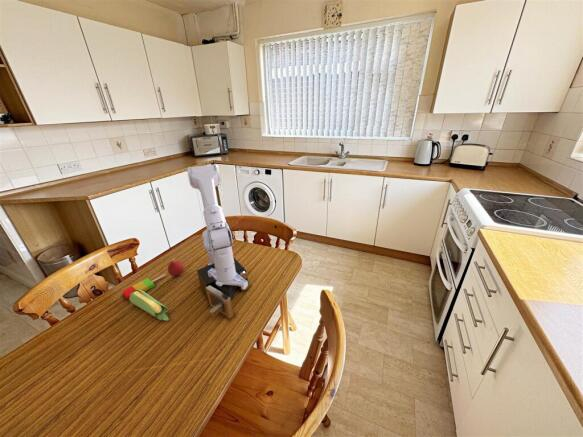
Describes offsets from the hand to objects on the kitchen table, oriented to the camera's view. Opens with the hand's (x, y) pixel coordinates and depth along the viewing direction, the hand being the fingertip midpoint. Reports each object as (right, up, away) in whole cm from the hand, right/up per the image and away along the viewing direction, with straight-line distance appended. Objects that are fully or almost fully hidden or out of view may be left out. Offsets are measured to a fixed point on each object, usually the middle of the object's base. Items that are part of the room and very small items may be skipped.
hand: (231, 298), depth 78 cm
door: (-5, -5, 0) cm, 7 cm away
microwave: (-5, 0, +11) cm, 12 cm away
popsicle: (-36, 0, +13) cm, 38 cm away
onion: (-26, +3, +19) cm, 32 cm away
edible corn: (-28, -5, +3) cm, 28 cm away
